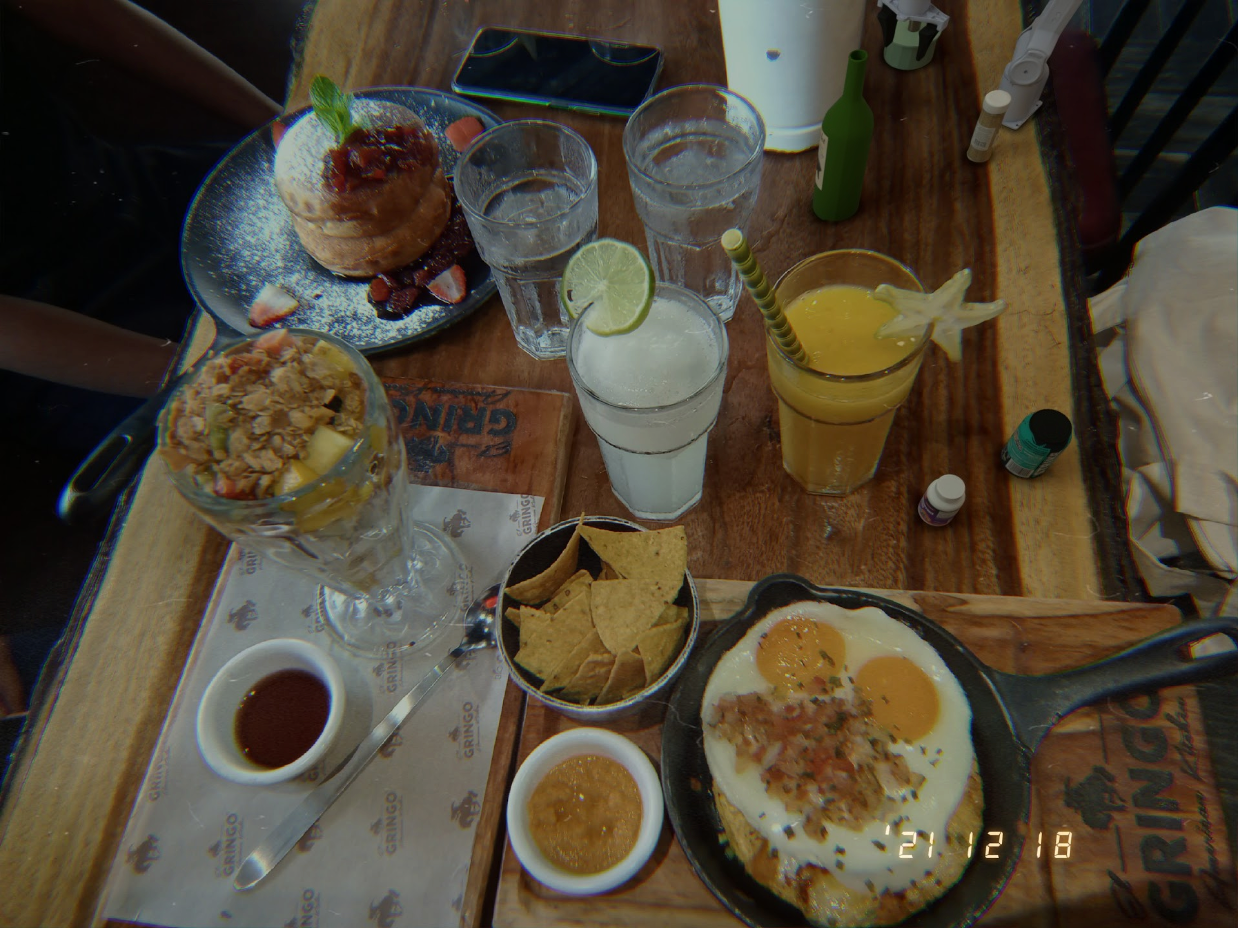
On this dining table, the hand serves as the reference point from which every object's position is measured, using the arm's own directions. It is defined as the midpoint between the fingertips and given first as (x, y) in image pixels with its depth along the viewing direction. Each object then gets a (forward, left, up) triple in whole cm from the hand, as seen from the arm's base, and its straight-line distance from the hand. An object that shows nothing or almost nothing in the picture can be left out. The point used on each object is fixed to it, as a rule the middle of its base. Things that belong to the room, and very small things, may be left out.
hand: (904, 51), depth 148 cm
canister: (-13, -6, -10) cm, 17 cm away
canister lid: (-13, -6, -5) cm, 15 cm away
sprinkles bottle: (+5, +23, -11) cm, 26 cm away
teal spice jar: (+58, +66, -11) cm, 89 cm away
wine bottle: (+32, +9, -11) cm, 35 cm away
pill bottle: (+74, +61, -11) cm, 97 cm away
